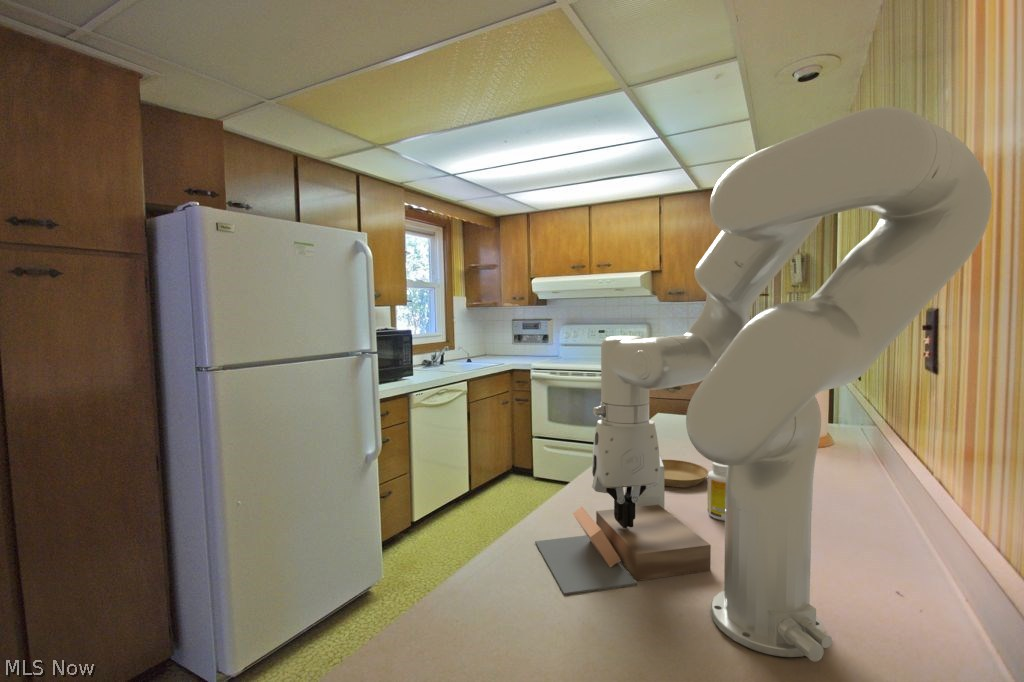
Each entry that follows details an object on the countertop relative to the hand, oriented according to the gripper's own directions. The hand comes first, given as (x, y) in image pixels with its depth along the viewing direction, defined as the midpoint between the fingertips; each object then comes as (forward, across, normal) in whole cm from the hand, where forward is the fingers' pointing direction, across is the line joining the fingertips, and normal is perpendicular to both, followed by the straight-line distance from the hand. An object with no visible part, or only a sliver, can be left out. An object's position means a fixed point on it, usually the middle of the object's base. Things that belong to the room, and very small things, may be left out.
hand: (624, 523), depth 81 cm
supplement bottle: (+5, +24, +9) cm, 26 cm away
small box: (+5, +11, +14) cm, 18 cm away
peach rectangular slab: (+1, -4, 0) cm, 4 cm away
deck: (+5, +4, 0) cm, 6 cm away
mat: (+5, -8, -1) cm, 9 cm away
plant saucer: (+5, +26, +30) cm, 40 cm away
